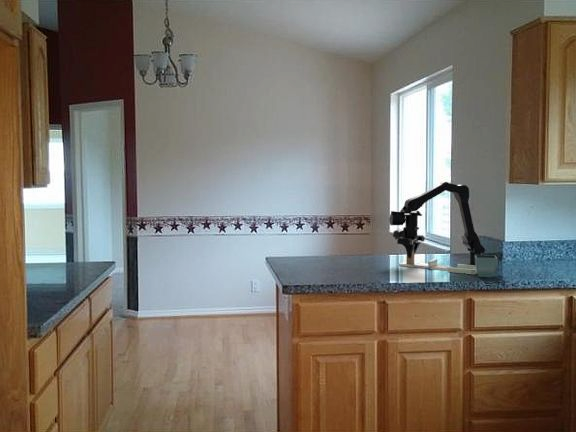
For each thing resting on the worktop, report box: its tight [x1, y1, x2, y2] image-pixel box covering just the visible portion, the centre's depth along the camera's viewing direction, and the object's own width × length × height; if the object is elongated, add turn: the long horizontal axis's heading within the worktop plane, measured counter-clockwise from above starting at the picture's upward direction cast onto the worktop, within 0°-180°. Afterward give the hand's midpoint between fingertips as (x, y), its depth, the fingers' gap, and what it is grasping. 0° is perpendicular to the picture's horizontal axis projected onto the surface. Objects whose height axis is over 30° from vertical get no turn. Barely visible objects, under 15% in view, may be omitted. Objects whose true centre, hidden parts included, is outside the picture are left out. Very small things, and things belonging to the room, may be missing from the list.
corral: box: [447, 263, 478, 275], centre depth 288 cm, size 13×12×2 cm
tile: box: [430, 264, 452, 271], centre depth 295 cm, size 7×7×2 cm
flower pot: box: [475, 254, 499, 279], centre depth 273 cm, size 9×9×9 cm
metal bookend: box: [398, 249, 438, 270], centre depth 301 cm, size 16×8×8 cm, turn 55°
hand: (410, 257), depth 303 cm, fingers closed on metal bookend, 3 cm apart
